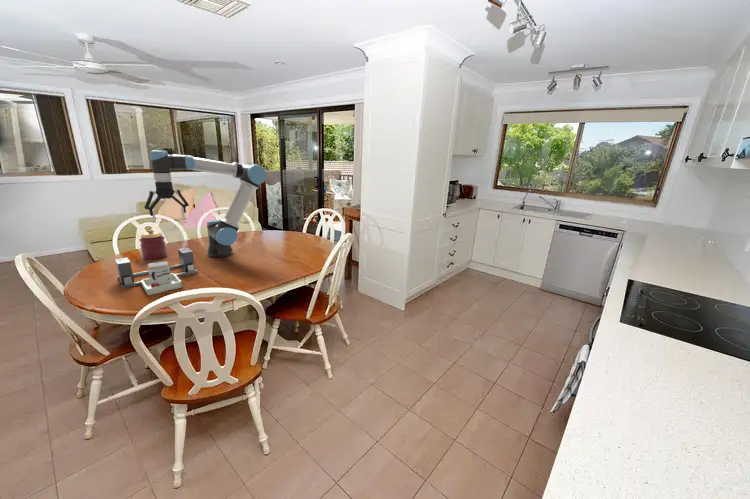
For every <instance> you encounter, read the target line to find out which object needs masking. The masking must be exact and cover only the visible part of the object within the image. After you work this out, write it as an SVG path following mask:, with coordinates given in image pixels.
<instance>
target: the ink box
mask: <svg viewBox="0 0 750 499" xmlns="http://www.w3.org/2000/svg"><path fill="white" fill-rule="evenodd" d="M169 266H170V264H169V261H168V260H165V261H158V262H157V261H156V262H152V263H151V262H150V263H147V271H149V274H148V276H149V278H150V282H151V287H152V288H153V287H157V286H162V285H166V284H171V283H172V282H171V276H170V274H171V269H170V270H169Z"/></svg>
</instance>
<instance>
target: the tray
mask: <svg viewBox="0 0 750 499" xmlns="http://www.w3.org/2000/svg"><path fill="white" fill-rule="evenodd" d="M175 274H176V273H174V272H173V273H171V272H170V276H171V282H172V283H171V284H166V285H162V286H157V287H153V288H152V287H151V282H150V277H147V278H141V279H140V282H141V284H142V285H141V286H142V287H141V288H143V290H144V291H145V293H146V295H147V296H152V295H153V296H154V295H156V294H161V293H164V292H165V291H166V292H169V291H168V290H170V291H173V290H177V289H182V288H183V281H182V280H181V279H180V277H177V276H176V275H175ZM166 292H165V293H166Z"/></svg>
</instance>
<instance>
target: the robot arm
mask: <svg viewBox="0 0 750 499" xmlns="http://www.w3.org/2000/svg"><path fill="white" fill-rule="evenodd" d="M149 155H150V163H151V167H152V168H151V169H152V172H153V179H154V181H155V182H154V184H155V190H149V191H148V192H149V193H148V197H147V199H146V202H145V205H144V209H145V210H148V211H149V216H150V217H152V219H153V220H152V221H153V222H154V223H157V217H156V213H155V212H156V211H155V209H154V208H155V207H156V205H157V204H158V203H160V202H159V201H161V199H162V200H166V199H169V200H170V199H173V200H174V201H175V202H176V203H178V204H179V205H180V212H181V219H183V220H185V219H186V216H185V214H186V213H187V210H186V207H189V203H188V201H187V200H186V199H185V197H184V196H183V195H182V193H181V190H180V189H178V188H177V189H174V187H173V182H172V174H171V170H188V171H189V170H192V171H198V172H203V173H213V174H219V175H226V176H231V177H232V178H235V179H239V181H240V185H239V187H238V189H237V191H236V193H235V195H234V197H233V200H232V201H231V203H230V206H229V207H228V210H227V212H226V213H225V215H224V218H221V219H211V220H208V221H206V227H207V236H208V247H207V251H206V252H207V253H206V254H207V256H208V257H210V258H223V257H228V256H231V255H232V254H233V252H234V251H233V247H232V245H233V244H235V243H236V242H237V239H238V238H239V236H238V231H239V229H240V226H239V223H240V221H241V219H242V217H243V215H244V213H245V212H246V209H247V206H248V205H249V202H250V201H251V198H252V196H253V194H254V192H255V190H258V189H259V188H260V185H262V184H264V183H265V182H266V180H267V171H266V169H265V167H263V166H261V165H259V164H257V163H251V162H236V161H235V162H232V163H231V162H227V161H220V160H214V159H209V158H202V157H195V156H193V155H189V154H179V153H172V154H169V153H168V151H167V150H151V151H150V153H149ZM155 194H156V195H157V196H156V198H155V199H154V201H152V200H153V197H154V196H155ZM174 194H176V195H177V196H178V197H179V198H180V199H181V201H182V202H181V201H180V200H179V199H178V198H176V196H174ZM151 202H152V203H151Z"/></svg>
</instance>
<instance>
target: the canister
mask: <svg viewBox="0 0 750 499" xmlns="http://www.w3.org/2000/svg"><path fill="white" fill-rule="evenodd" d="M139 237H140V238H139V240H138V241H139V242H140V244H139V246H140V249H141V253H142V254H141V255H142V256H141V257H142V258H143V259H144V260H147V261H151V260H157V259H158V260H159V259H162V258H166V257H167V256H168V251H167V245H166V241H165V239H166V238H165V236H164V235H163V233H162V232H159V231H154V230H153V229H148V231H147V232H144V233H142V234H141V235H140V236H139Z"/></svg>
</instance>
